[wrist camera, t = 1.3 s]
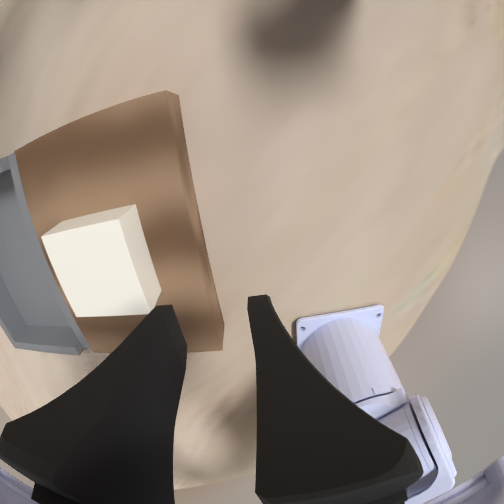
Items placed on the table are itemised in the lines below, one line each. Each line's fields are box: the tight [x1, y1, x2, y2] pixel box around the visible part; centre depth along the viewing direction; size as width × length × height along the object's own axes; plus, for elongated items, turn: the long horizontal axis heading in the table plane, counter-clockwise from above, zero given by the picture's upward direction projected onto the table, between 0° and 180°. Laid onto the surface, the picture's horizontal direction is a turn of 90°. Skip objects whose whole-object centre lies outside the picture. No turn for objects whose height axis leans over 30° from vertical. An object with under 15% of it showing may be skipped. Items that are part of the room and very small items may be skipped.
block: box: [41, 204, 161, 317], centre depth 15 cm, size 6×6×2 cm
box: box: [0, 153, 91, 355], centre depth 18 cm, size 18×12×4 cm, turn 7°
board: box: [15, 90, 224, 353], centre depth 18 cm, size 18×12×3 cm, turn 7°
